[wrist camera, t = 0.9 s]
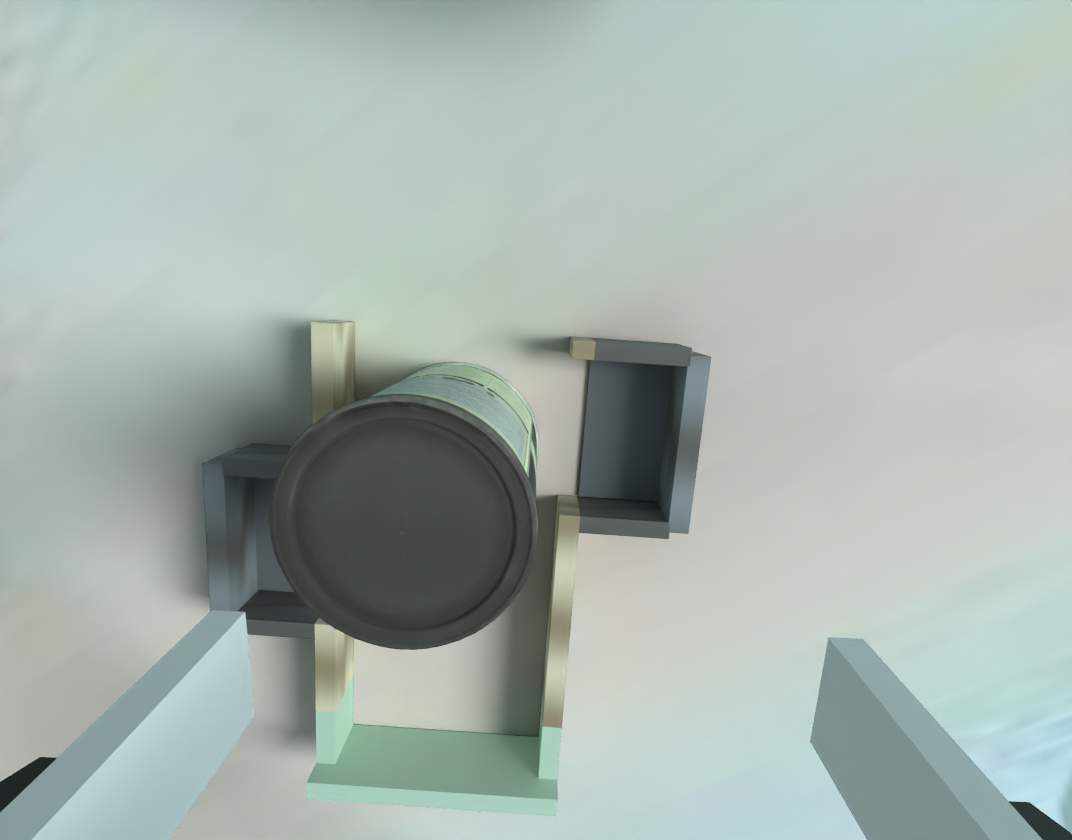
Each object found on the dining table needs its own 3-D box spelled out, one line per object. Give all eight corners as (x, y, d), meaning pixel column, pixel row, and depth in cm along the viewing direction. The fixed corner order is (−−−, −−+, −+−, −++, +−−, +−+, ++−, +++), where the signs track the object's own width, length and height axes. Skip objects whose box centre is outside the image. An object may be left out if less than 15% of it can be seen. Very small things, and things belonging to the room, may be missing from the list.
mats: (250, 333, 34) (248, 333, 34) (672, 362, 34) (673, 362, 34) (259, 588, 37) (257, 589, 37) (643, 614, 37) (644, 616, 37)
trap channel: (229, 313, 34) (194, 314, 30) (695, 345, 34) (712, 349, 30) (244, 668, 38) (215, 704, 35) (651, 696, 38) (662, 734, 35)
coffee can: (562, 491, 36) (573, 608, 22) (411, 539, 36) (330, 682, 23) (508, 336, 34) (483, 357, 20) (350, 390, 35) (221, 447, 21)
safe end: (336, 674, 38) (305, 728, 34) (560, 690, 38) (562, 746, 34) (336, 738, 39) (306, 799, 35) (554, 752, 39) (556, 816, 35)
